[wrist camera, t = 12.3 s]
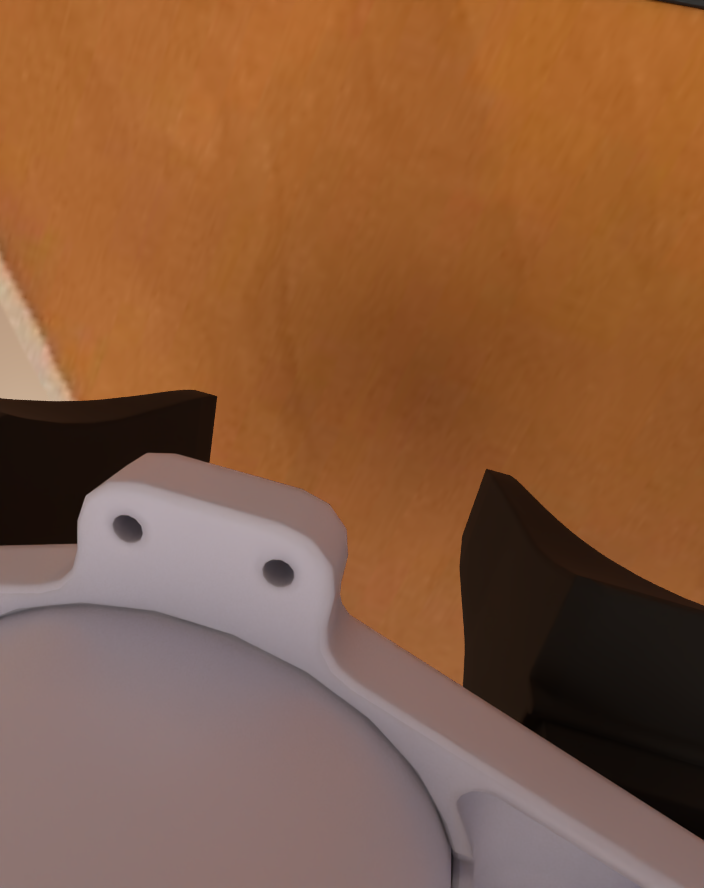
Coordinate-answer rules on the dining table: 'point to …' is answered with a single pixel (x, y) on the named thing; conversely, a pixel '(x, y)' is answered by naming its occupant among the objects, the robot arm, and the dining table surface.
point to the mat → (687, 3)
